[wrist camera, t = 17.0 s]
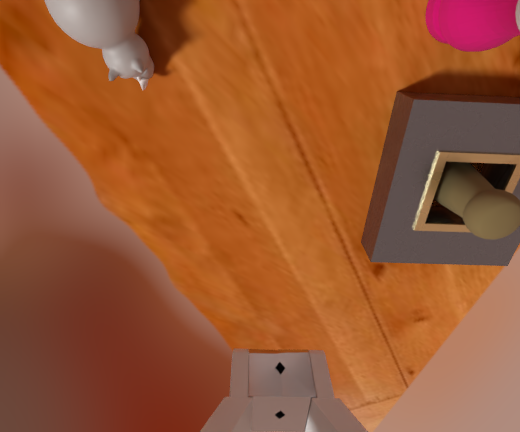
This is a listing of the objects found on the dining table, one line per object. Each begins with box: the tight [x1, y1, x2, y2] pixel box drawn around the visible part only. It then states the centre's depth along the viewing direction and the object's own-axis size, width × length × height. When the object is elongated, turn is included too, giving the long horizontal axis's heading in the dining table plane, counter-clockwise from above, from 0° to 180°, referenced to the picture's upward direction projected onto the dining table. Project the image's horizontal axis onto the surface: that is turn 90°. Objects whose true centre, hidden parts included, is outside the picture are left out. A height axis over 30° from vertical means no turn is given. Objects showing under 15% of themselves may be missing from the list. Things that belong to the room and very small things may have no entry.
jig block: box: [361, 92, 520, 266], centre depth 40 cm, size 20×18×5 cm
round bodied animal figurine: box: [45, 0, 154, 90], centre depth 30 cm, size 7×12×8 cm, turn 14°
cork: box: [434, 161, 520, 239], centre depth 37 cm, size 6×6×11 cm
